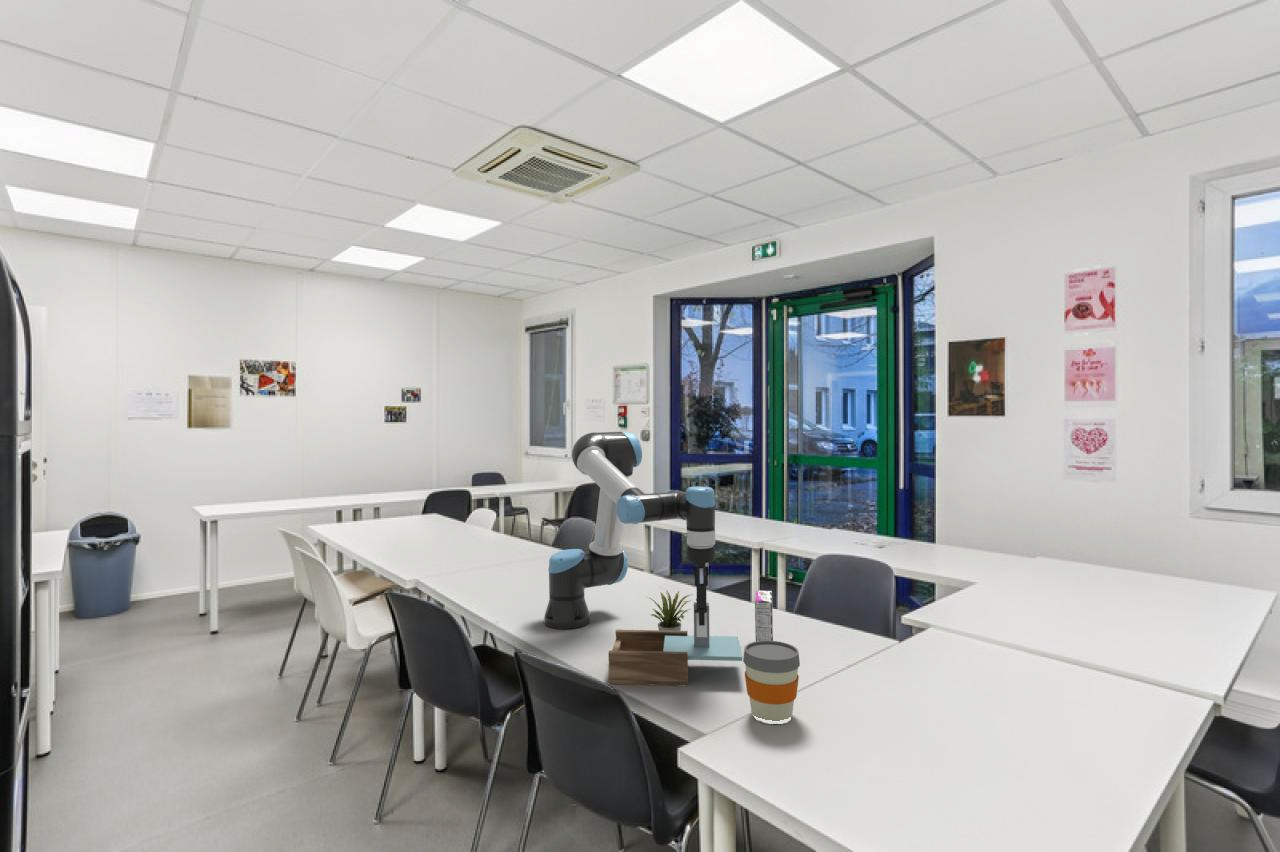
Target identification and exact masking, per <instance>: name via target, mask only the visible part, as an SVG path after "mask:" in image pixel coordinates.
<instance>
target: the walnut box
mask: <svg viewBox="0 0 1280 852" xmlns="http://www.w3.org/2000/svg"><path fill="white" fill-rule="evenodd" d="M665 635H683V636H688V630H681V631H662V630H658V629H657V630H653V629H651V630H650V629H649V630H648V629H616V630H615V640H614V643H613V647H612V650H610V649H609V651H608V681H609V682H608V685H632V686H633V685H635V686H637V685H638V686H639V685H640V686H643V685H645V686H679V685H686V687H687V686H688V684H689V683H688V681H689V678H688V675H689V674H688V673H689V672H688V671H689V670H688V669H689V666H688V665H689V660H688V657H687V652H667V651H663V649H664V641H665Z"/></svg>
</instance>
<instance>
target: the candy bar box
mask: <svg viewBox="0 0 1280 852" xmlns="http://www.w3.org/2000/svg"><path fill="white" fill-rule="evenodd" d="M773 615H774V613H773V591H772V590H756V591H755V599H754V619H755V620H754V621H755V622H754V623H755V626H754V627H755V642H756V641H774V627H773V626H774V625H773V623H774V622H773V621H774V618H773Z"/></svg>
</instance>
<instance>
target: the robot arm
mask: <svg viewBox="0 0 1280 852" xmlns="http://www.w3.org/2000/svg"><path fill="white" fill-rule="evenodd" d="M642 448H643V447H642V446H641V443H640V440H639V438H638V437H637V435H635V434H634V433H633V432H628V431H607V432H605V431H603V432H588V433H586V434H584V435H582V436H580V437H579V438H578V439H577V440H576V442H575V443H574V444H573V447H572V451H571V459H572V463H573V465H574V466H575V468H576V469H577V470H578V471H579V472H580V473H581V474H582V475H585V476H588V477H589V478H590V479H591V480H592V481H593V482H594V483H595V484H596V485H597V486H598V487H599V488H600V489H599V494H598V495H599V496H598V504H597V505H598V506H597V511H596V522H595V531H594V540H593V541H592V542H590V543H589V546H588V551H587V552H585V551H584V550H583V549H580V548H571V549H564V550H560V551H557V552H554V553H553V554H552V555H551V556H550V557H549V561H548V562H549V563H548V584H549V585H548V590H549V591H548V592H549V593H548V594H549V597H548V598H549V599H548V603H547V606H546V609H545V613H544V615H543V616H544V618H543V622H544V625H545V626H546V627H549V628H551V629H555V630H557V629H558V630H570V629H569V628H573V629H578V628H582V627H584V625H585V626H587V625H588V624H589V623H590V622H591V614H590V611H589V608H588V605H587V602H586V598H585V589H588V588H595V587H601V586H611V585H613V584H617V583H618V584H619V583H620V582H622V581H623V580H624V579H625V577H626V575H627V572H628V568H629V561H628V556H627V553H626V551H625V550H624V549H623V546H622V545H621V544H620V541H621V540H620V539H621V533H622V532H621V531H622V524H627V525H628V524H632V525H636V524H641V523H650V522H658V521H659V522H660V521H671V520H682V521H686V524H685V525H686V526H685V528H686V532H684V535H683V536H684V537H686V545H687V546H686V560H687V562H689V563H695V564H696V565H695V566H693V575H694V586H695V587H696V598H695V601H696V602H697V609H696V610H694V609H693V614H694V613H696V622H697V637H707V608H706V603H707V586H708V585H709V573H710V569H709V566H706V564H709V563H712V562H715V560H716V547H715V544H716V501H715V490H714V489H713V488H712V487H709V486H700V485H699V486H689V487H688V488H686V491H681V490H679V489H674V490H673V489H668V490H666V491H664V492H654V493H652V492H651V493H644V491H643V490H641V489H640V488H639V487H638V486H637V485H636V484H635V483H634V482H632V480H630V477H632V476H633V474H634V473H633V471H634V468H636V467H638V466H640V464H642V460H643V450H642ZM586 624H587V625H586ZM581 626H582V627H581ZM577 627H578V628H577Z"/></svg>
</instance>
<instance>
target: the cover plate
mask: <svg viewBox="0 0 1280 852" xmlns="http://www.w3.org/2000/svg"><path fill="white" fill-rule="evenodd" d="M706 608H707V637H697V622H696V613H694V612H693V635H687V636H683V635H665V641H664V649H663V651H667V652H687V657H688V661H721V662H722V661H726V662H727V661H729V662H730V661H732V662H735V661H736V662H743V655H742V650H741V646H740V645H741V644H740V640H739V637H738V636H737V635H735V636H734V635H732V636H731V635H729V636H728V635H726V636H725V635H710V603H709V602H706ZM696 609H697V601H696V602H695V601H694V602H693V611H694V610H696Z"/></svg>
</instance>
